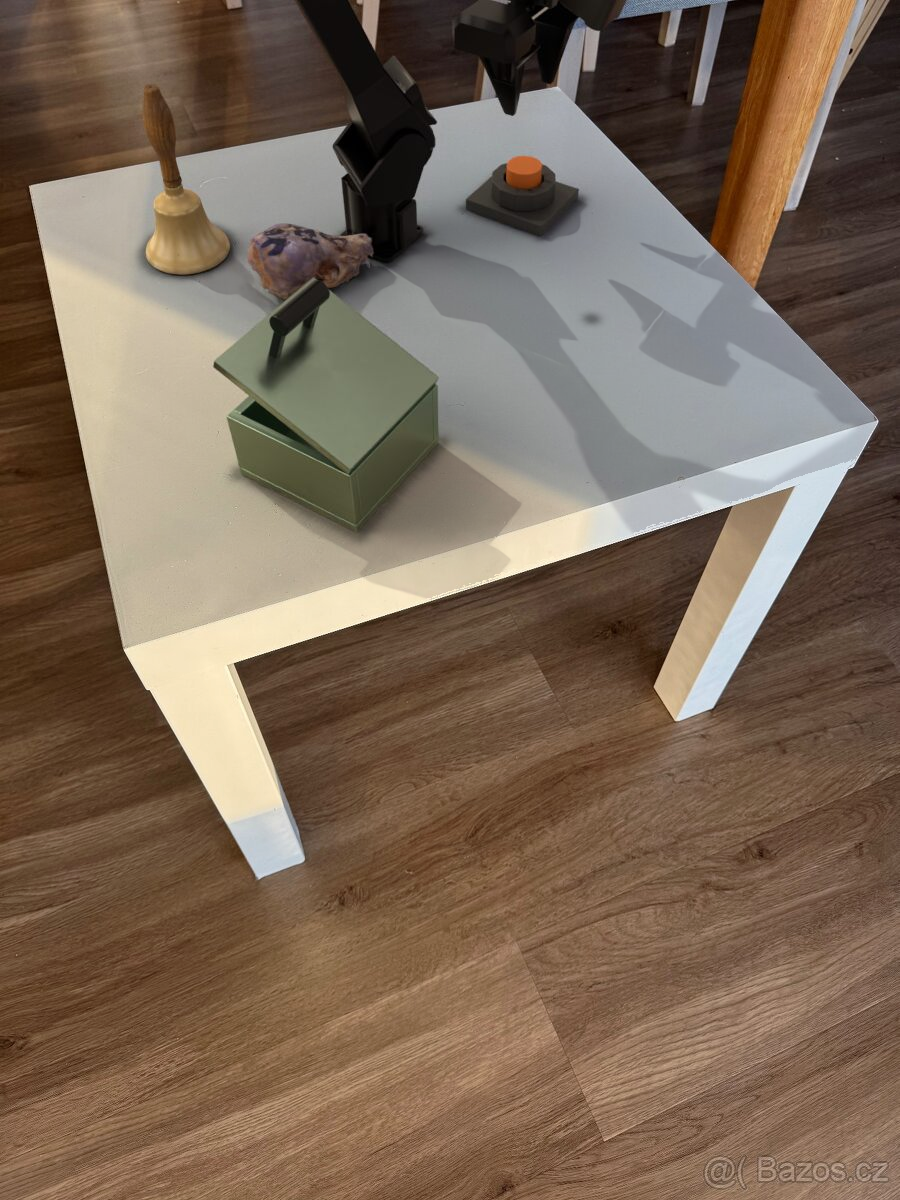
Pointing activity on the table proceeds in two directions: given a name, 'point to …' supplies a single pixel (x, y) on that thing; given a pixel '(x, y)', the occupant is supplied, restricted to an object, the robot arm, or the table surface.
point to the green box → (317, 480)
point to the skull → (305, 257)
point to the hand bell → (177, 203)
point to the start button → (524, 172)
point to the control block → (522, 201)
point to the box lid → (327, 374)
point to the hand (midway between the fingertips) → (528, 98)
